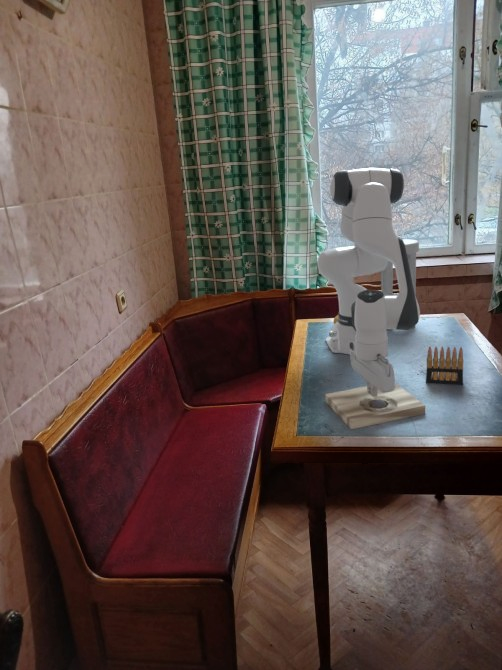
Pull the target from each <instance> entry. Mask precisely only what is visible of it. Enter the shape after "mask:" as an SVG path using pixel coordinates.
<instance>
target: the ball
mask: <svg viewBox="0 0 502 670" xmlns="http://www.w3.org/2000/svg"><path fill="white" fill-rule="evenodd" d="M372 407H373V408H385V407H386V403H385V402H384V401H383V400H381V399H377V400H375V401H374V402H373V403H372Z"/></svg>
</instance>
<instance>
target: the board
mask: <svg viewBox="0 0 502 670" xmlns="http://www.w3.org/2000/svg"><path fill="white" fill-rule="evenodd" d="M324 395H325V403H326V404H327V405H328V406H330V408H331V409H332V410H333V411H334V413H336V414H337V415H338V417H339V418H340V419H341V420H342V421H343V422H344V423H345V424H346V425H347V427H348V428H349V429H350V430H354V429H361V428H364V427H368V426H374V425H377V424H382V423H388V422H392V421H396V420H401V419H406V418H410V417H415V416H420V415H424V414H426V405H425V404H424V403H423V402H422V401H420V400H419V399H418V398H416V397H414V396H413V394H411V393H410V392H408V391H407V390H405V389H404V388H403V387H401V386H400V385H399V384H397V383H396V382H395V389H394V391H392V392H387V393H382V392H381V391H380V390H377V396H371V395H370V394H369V393H368V392H367V386H366V385H365V386H358V387H354V388H351V389H346V390H340V391H335V392H330V393H325V394H324ZM377 399H381V400H383V401H384V402H385V403H386V407H385V408H373V407H372V403H373V402H374V401H375V400H377Z"/></svg>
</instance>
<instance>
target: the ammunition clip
mask: <svg viewBox="0 0 502 670" xmlns="http://www.w3.org/2000/svg"><path fill="white" fill-rule="evenodd" d="M433 349H434V351H433V352H432V347H431V346H428V349H427V355H426V373H425V374H426V375H425V376H426V377H425V383H426V384H434V385H437V384H438V385H454V386H455V385H458V386H459V385H460V386H462V385H464V350H463V347H462V346H460V347H459V350H458V352H457V348H456V346H454V347H453V348H452V349H453V350H452V352H451V349H450V347H449V346H447V348H446V352H445V349H444V346H441V348H440V351H439V350H438V347H437V346H435V347H434V348H433ZM445 353H446V354H445ZM451 353H452V354H451ZM457 354H458V355H457ZM457 356H458V358H457Z"/></svg>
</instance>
